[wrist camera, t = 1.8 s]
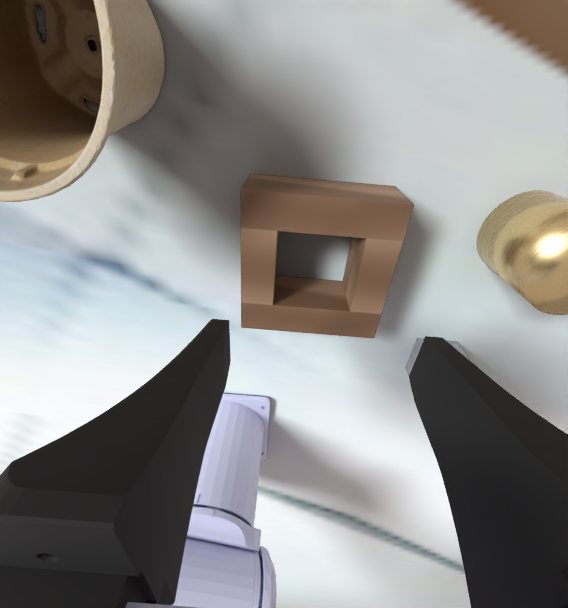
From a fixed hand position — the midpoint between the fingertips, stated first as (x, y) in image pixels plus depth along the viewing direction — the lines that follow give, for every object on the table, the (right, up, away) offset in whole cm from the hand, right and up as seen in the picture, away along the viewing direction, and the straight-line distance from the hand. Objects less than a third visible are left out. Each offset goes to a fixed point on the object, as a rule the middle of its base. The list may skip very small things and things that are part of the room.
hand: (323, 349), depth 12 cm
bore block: (0, +5, +8) cm, 9 cm away
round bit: (+13, +6, +7) cm, 15 cm away
